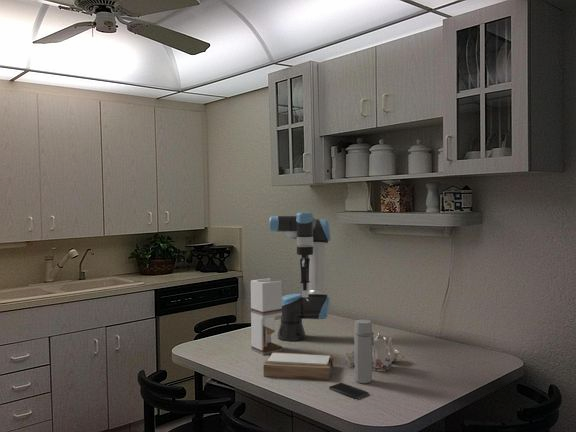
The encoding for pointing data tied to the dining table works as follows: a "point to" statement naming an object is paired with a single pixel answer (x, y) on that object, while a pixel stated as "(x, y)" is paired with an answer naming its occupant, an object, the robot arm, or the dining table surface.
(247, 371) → the dining table surface
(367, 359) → the water bottle
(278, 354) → the duct cover
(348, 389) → the phone
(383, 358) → the chinaware
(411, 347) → the dining table surface
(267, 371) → the wooden tray
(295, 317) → the robot arm
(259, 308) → the wood-lined white cubby
